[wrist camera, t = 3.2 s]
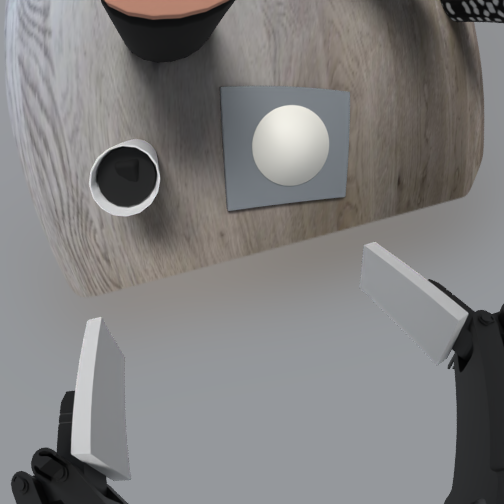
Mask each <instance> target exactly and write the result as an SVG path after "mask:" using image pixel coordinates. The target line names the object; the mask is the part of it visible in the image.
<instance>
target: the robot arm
mask: <svg viewBox="0 0 504 504" xmlns="http://www.w3.org/2000/svg"><path fill="white" fill-rule="evenodd" d="M359 288H360V289H361V290H362V291H363V292H364V293H365V294H366V295H367V296H368V297H369V298H370V299H372V300H373V301H374V302H375V303H376V304H377V305H378V306H379V307H380V308H381V309H382V310H383V311H384V312H385V313H386V314H387V315H388V316H389V317H390V318H391V319H392V320H393V321H394V322H395V323H396V324H397V325H398V326H399V327H400V328H401V329H402V330H403V331H404V332H405V333H406V334H407V335H408V336H409V337H410V338H411V339H412V340H413V341H414V342H415V343H416V344H417V345H418V346H419V348H420V349H422V351H423V352H424V353H425V354H426V355H427V356H428V357H429V358H430V359H431V360H432V361H433V362H434V363H435V364H436V365H439V364H440V363H441V362H443V361H444V360H445V359H447V357H448V355H449V354H450V352H451V350H452V349H453V350H454V351H455V354H454V356H453V357H452V359H451V361H450V363H449V365H448V369H450V367H451V366H452V364H453V362H454V366H453V369H455V381H456V400H457V440H456V458H455V469H454V478H453V486H452V490H451V492H450V494H449V496H448V497H447V498H446V500H445V503H444V504H504V304H503V305H502V307H501V310H500V312H497V313H494V314H491V313H489V312H487V311H484V310H478V311H476V312H474V311H473V310H472V309H471V308H469V307H468V306H467V305H466V304H464V303H463V302H462V301H461V300H459V299H458V298H457V297H456V296H455V295H452V293H451V292H449V291H448V290H446V288H444V287H443V286H442V285H440V284H439V283H437V282H435V281H433V280H430V279H429V280H426V279H425V278H424V277H423V276H421V275H420V274H419V273H417V272H416V271H415V270H413V269H412V268H411V267H409V266H408V265H407V264H405V263H404V262H403V261H401V260H400V259H398V258H397V257H396V256H394V255H393V254H391V253H390V252H389V251H387V250H386V249H384V248H383V247H382V246H380V245H379V244H377V243H376V242H372V243H369V244H366V245H364V248H363V259H362V269H361V277H360V285H359ZM124 366H125V357H124V355H123V353H122V352H121V350H120V349H119V347H118V345H117V343H116V342H115V340H114V338H113V337H112V335H111V333H110V331H109V329H108V328H107V326H106V324H105V322H104V320H103V318H102V317H99V318H94V319H90V320H87V325H86V330H85V334H84V340H83V345H82V350H81V356H80V361H79V368H78V374H77V382H76V389H75V391H69V392H66V394H65V396H64V398H63V400H62V402H61V409H60V417H59V423H60V424H59V427H58V441H57V453H56V452H55V451H54V450H52V449H49V448H41V449H39V450H38V451H36V453H35V454H34V455H33V458H32V461H31V466H32V471H33V473H34V476H31V475H30V474H28V473H26V472H23V471H19V472H17V473H16V474H15V475H14V476H13V478H12V482H11V486H12V492H13V494H14V497H15V500H16V503H17V504H128V503H127V502H126V501H125V500H124V499H123V498H122V497H121V496H120V495H118V494H117V493H116V492H115V491H114V490H113V489H112V488H111V487H110V486H109V485H108V484H107V482H106V477H108V478H110V479H112V480H113V481H119V480H131V475H130V467H129V458H128V447H127V435H126V419H125V388H124V369H125V368H124Z"/></svg>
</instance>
